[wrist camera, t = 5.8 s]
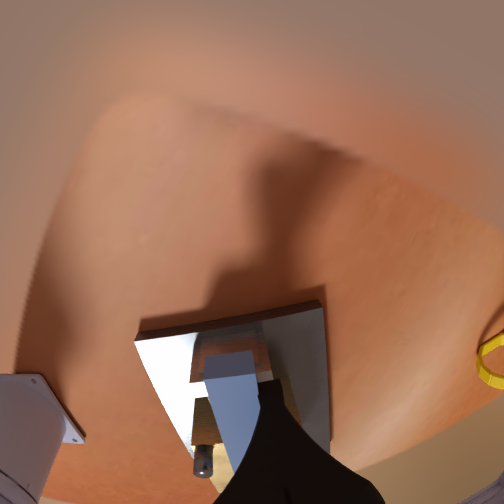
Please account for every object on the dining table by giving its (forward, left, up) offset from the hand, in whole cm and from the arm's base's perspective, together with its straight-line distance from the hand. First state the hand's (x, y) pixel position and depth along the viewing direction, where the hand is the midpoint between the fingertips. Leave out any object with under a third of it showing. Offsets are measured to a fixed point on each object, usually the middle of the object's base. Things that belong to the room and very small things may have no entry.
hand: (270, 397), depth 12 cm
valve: (-2, -7, -7) cm, 10 cm away
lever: (-1, -3, -1) cm, 3 cm away
